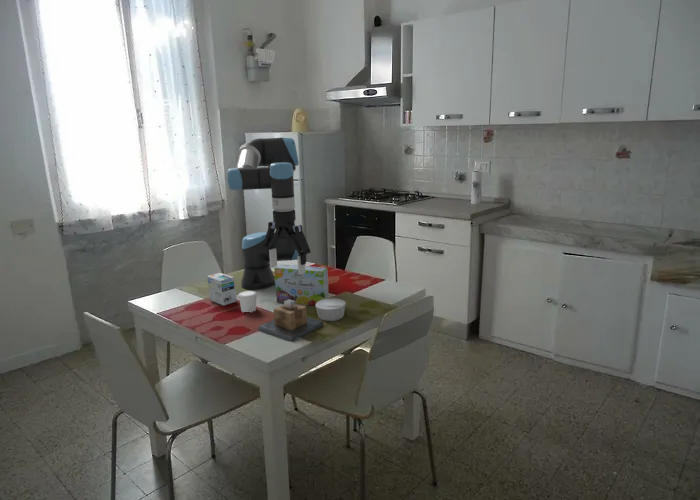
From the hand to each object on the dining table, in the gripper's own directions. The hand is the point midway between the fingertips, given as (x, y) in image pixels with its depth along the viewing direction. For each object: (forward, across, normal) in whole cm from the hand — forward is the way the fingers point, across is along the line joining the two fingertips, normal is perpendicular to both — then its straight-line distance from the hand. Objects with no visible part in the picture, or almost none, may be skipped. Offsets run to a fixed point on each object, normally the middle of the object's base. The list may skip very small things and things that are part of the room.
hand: (287, 270), depth 166 cm
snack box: (+21, -12, +20) cm, 32 cm away
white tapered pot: (+21, -25, +2) cm, 33 cm away
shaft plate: (+21, +1, -1) cm, 21 cm away
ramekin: (+21, +6, +15) cm, 27 cm away
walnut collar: (+19, +1, -1) cm, 19 cm away
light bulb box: (+21, -42, +3) cm, 47 cm away
